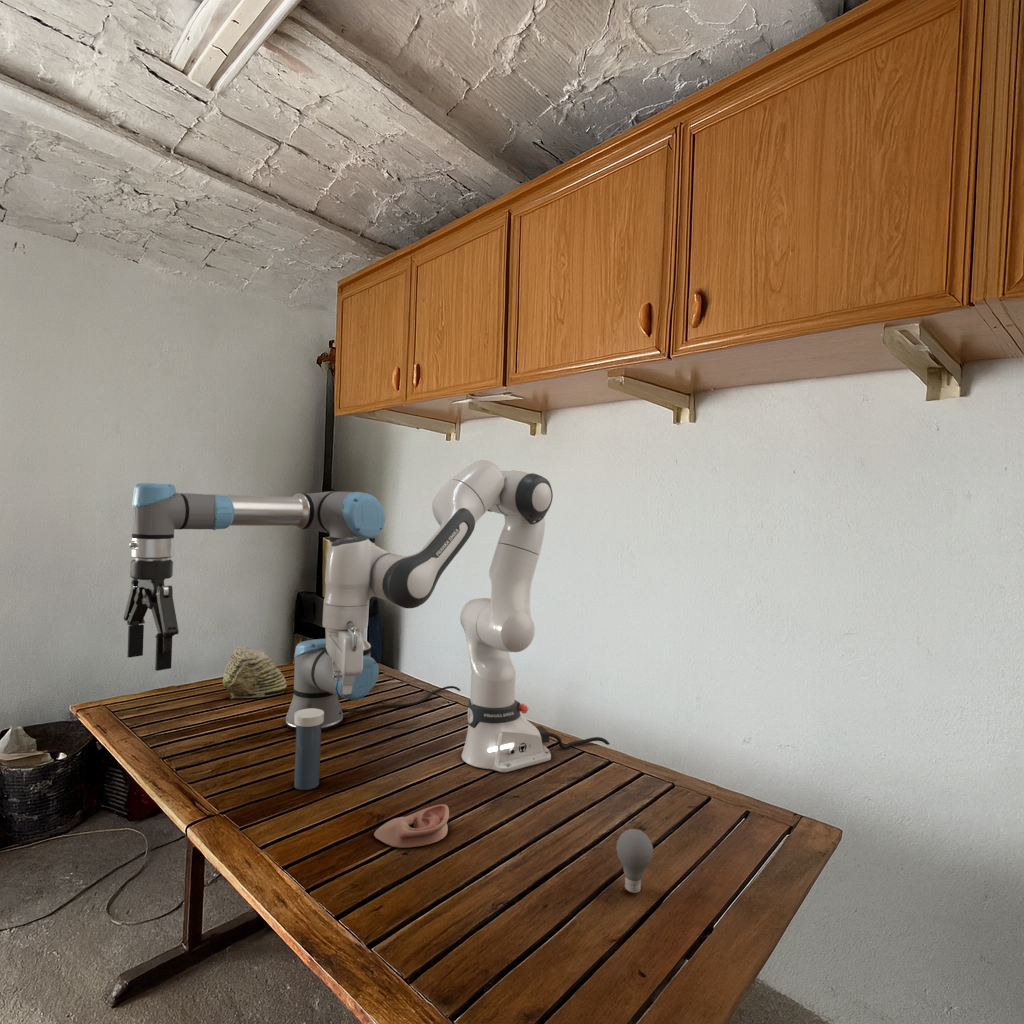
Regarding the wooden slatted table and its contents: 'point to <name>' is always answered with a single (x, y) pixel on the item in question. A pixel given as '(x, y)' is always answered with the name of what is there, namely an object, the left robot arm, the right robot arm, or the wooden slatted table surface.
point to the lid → (309, 717)
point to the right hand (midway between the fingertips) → (341, 686)
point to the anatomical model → (416, 828)
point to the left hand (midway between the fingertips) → (148, 662)
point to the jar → (307, 757)
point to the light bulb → (634, 857)
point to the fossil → (252, 674)
